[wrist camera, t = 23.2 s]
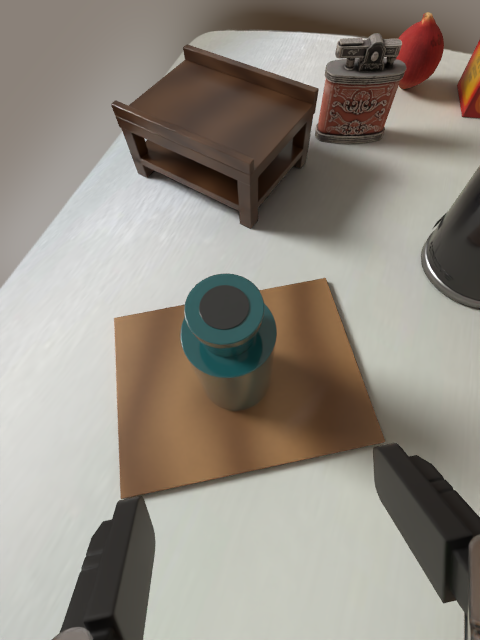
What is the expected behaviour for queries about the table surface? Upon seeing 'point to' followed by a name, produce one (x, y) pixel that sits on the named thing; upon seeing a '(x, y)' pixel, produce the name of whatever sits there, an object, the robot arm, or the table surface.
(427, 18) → the onion
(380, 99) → the lighter
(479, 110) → the baking soda box
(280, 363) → the placemat
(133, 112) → the rack
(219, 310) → the vase
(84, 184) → the table surface
